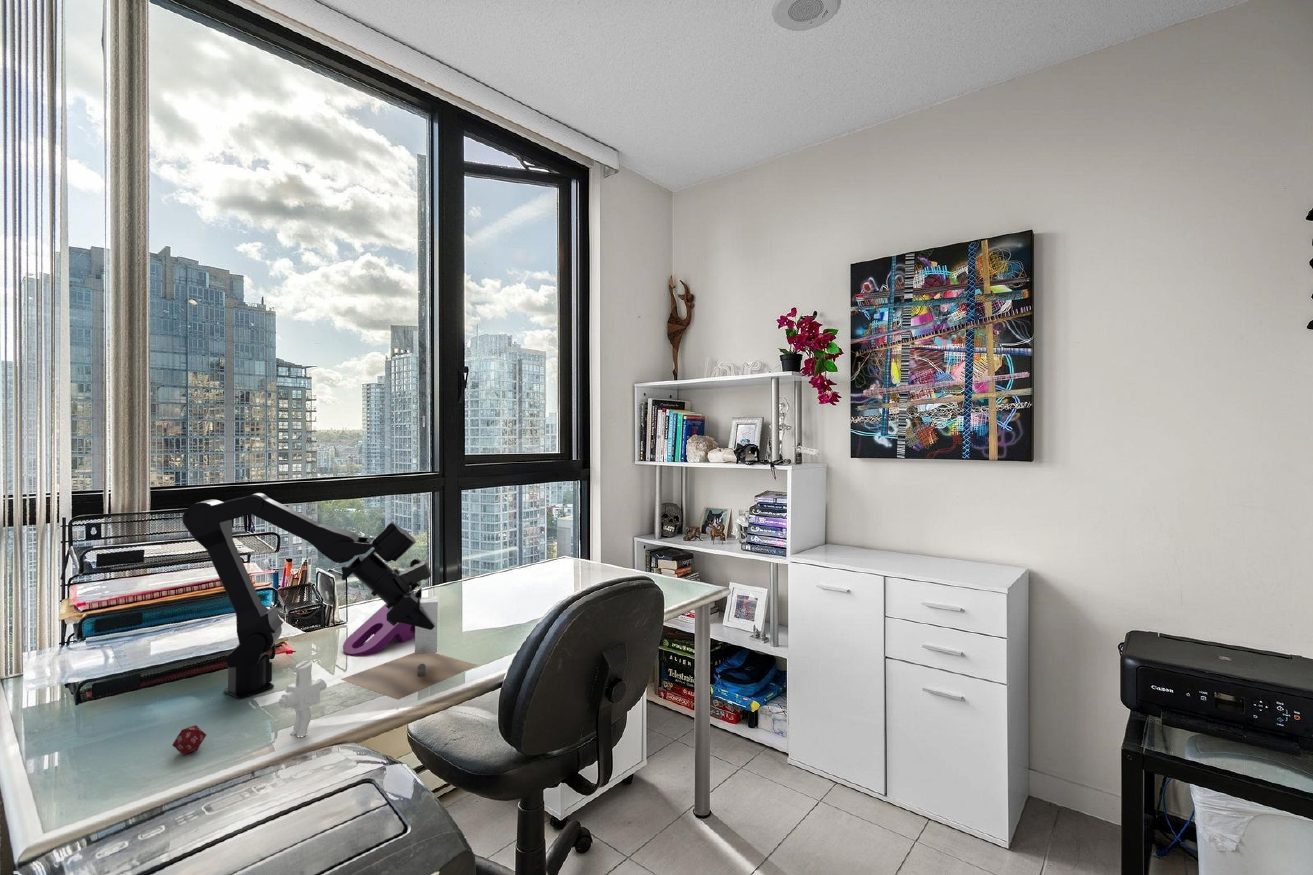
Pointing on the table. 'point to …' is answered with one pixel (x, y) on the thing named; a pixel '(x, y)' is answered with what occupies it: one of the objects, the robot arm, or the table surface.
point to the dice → (189, 739)
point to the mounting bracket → (377, 634)
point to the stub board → (409, 674)
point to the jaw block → (426, 637)
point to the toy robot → (302, 696)
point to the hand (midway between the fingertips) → (433, 624)
